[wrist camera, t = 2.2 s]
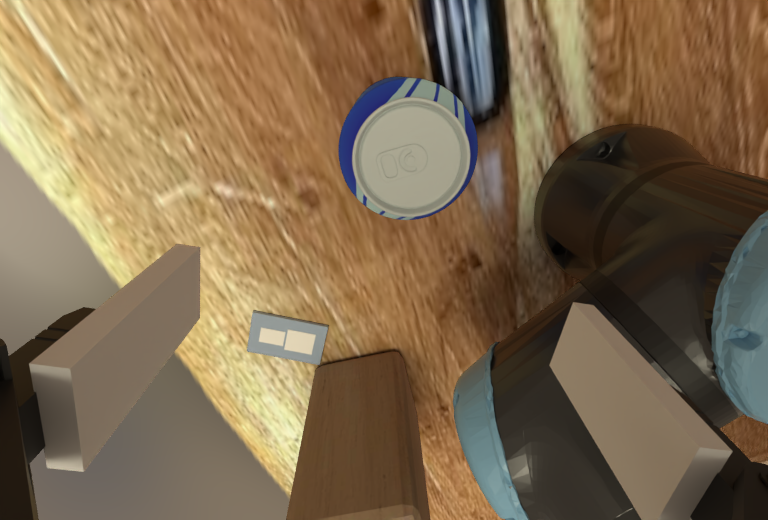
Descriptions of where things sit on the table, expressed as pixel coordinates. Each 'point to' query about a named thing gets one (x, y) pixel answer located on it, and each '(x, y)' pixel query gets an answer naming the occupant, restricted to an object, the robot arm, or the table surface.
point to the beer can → (407, 148)
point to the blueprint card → (286, 337)
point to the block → (360, 445)
